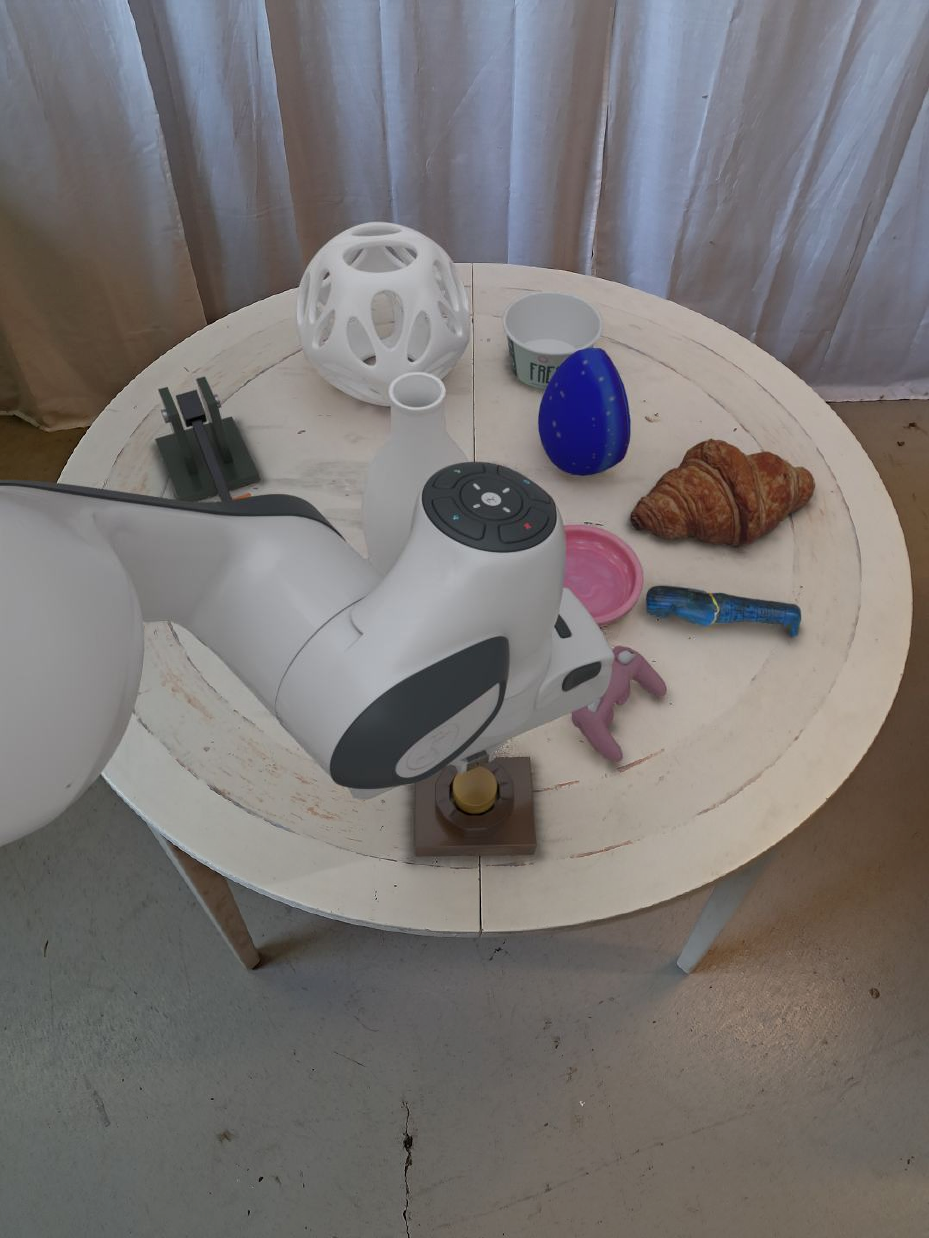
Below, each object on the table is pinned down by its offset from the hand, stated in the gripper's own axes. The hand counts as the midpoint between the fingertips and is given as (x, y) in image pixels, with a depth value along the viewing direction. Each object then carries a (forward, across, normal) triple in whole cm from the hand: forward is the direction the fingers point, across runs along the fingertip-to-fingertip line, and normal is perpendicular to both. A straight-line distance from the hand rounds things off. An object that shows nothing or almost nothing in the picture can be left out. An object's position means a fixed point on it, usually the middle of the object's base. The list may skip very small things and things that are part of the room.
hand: (472, 759), depth 68 cm
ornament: (+10, +29, +32) cm, 45 cm away
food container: (+10, +34, +48) cm, 60 cm away
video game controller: (+10, +16, +2) cm, 19 cm away
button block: (+9, 0, 0) cm, 9 cm away
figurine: (+10, +31, +8) cm, 34 cm away
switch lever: (+5, -9, +46) cm, 47 cm away
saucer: (+10, +20, +16) cm, 28 cm away
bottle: (+10, +6, +24) cm, 26 cm away
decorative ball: (+10, +16, +54) cm, 58 cm away
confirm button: (+6, 0, 0) cm, 6 cm away
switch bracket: (+10, -8, +50) cm, 51 cm away
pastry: (+9, +40, +19) cm, 46 cm away
